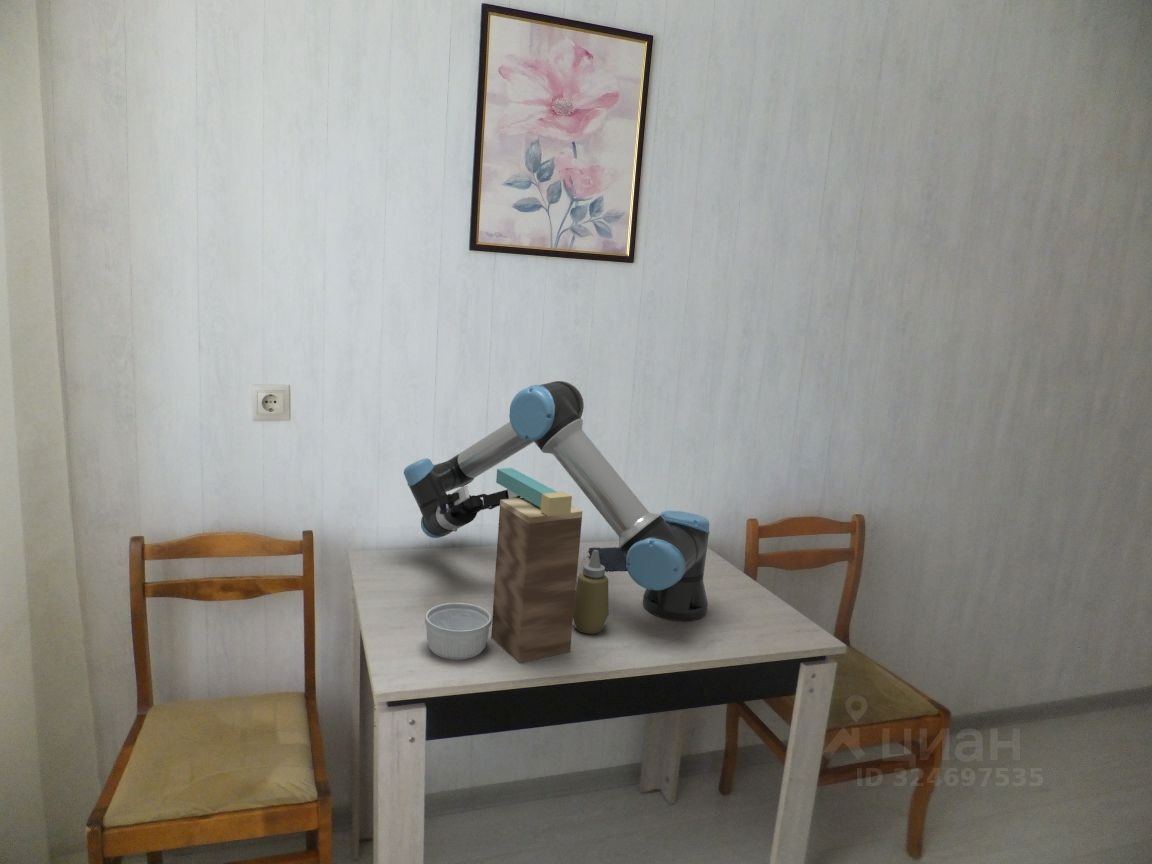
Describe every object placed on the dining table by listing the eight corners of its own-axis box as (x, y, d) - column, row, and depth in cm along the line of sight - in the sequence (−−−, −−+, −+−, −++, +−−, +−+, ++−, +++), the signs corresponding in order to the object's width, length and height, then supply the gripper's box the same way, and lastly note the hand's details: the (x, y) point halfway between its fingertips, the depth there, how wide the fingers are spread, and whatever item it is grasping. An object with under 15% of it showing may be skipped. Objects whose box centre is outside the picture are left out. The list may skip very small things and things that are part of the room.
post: (491, 637, 175) (500, 499, 169) (540, 627, 181) (551, 494, 175) (519, 662, 165) (529, 517, 159) (570, 651, 172) (582, 511, 165)
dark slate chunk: (581, 553, 230) (583, 537, 229) (655, 550, 237) (657, 535, 236) (600, 574, 216) (602, 557, 215) (678, 571, 223) (680, 554, 222)
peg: (492, 484, 179) (494, 467, 178) (513, 482, 181) (514, 466, 181) (548, 516, 160) (549, 498, 159) (570, 513, 163) (571, 495, 162)
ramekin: (496, 660, 165) (498, 627, 164) (429, 666, 161) (431, 633, 160) (481, 631, 178) (483, 600, 176) (418, 636, 173) (420, 604, 172)
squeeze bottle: (570, 619, 187) (577, 542, 183) (607, 622, 187) (614, 546, 183) (569, 635, 179) (576, 555, 175) (607, 638, 179) (614, 559, 175)
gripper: (506, 521, 206) (547, 500, 189) (410, 532, 192) (445, 511, 175) (500, 491, 207) (541, 468, 190) (405, 500, 194) (439, 476, 177)
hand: (495, 489), depth 183 cm, fingers open, 13 cm apart
